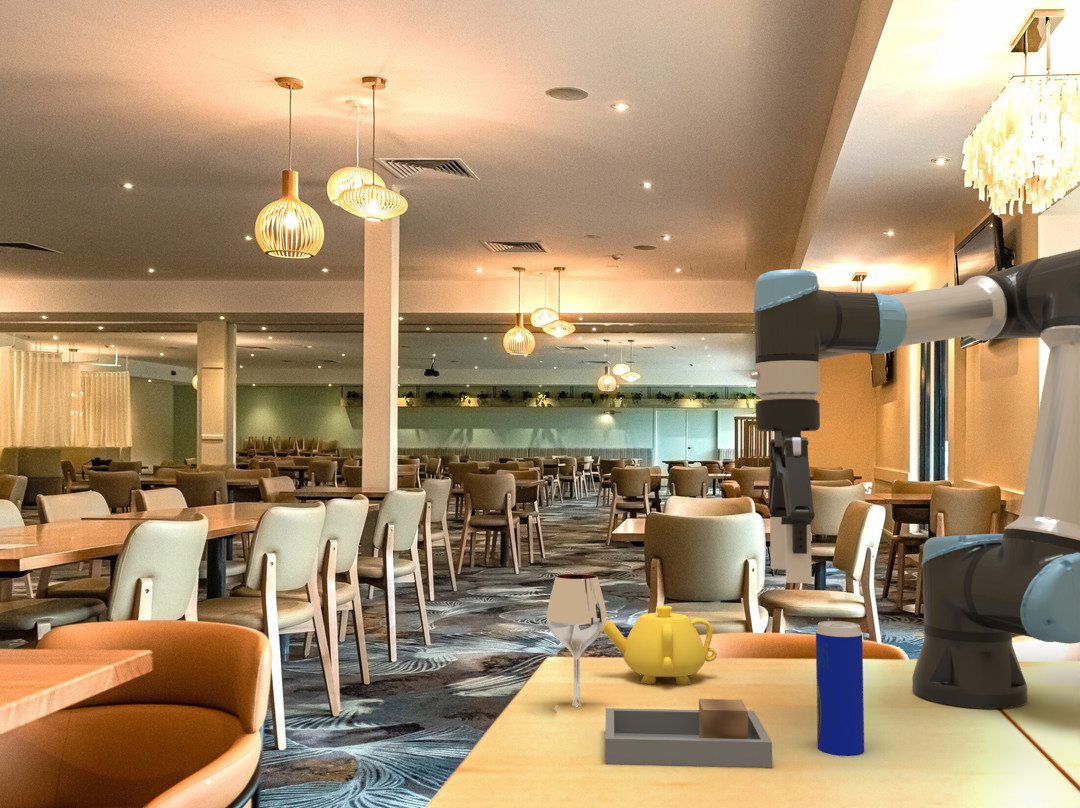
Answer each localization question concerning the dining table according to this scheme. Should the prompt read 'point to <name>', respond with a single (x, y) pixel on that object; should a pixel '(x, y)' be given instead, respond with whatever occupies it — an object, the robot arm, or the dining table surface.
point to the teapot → (663, 645)
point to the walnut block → (723, 719)
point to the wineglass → (576, 617)
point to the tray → (679, 741)
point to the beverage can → (839, 688)
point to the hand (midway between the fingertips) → (789, 575)
